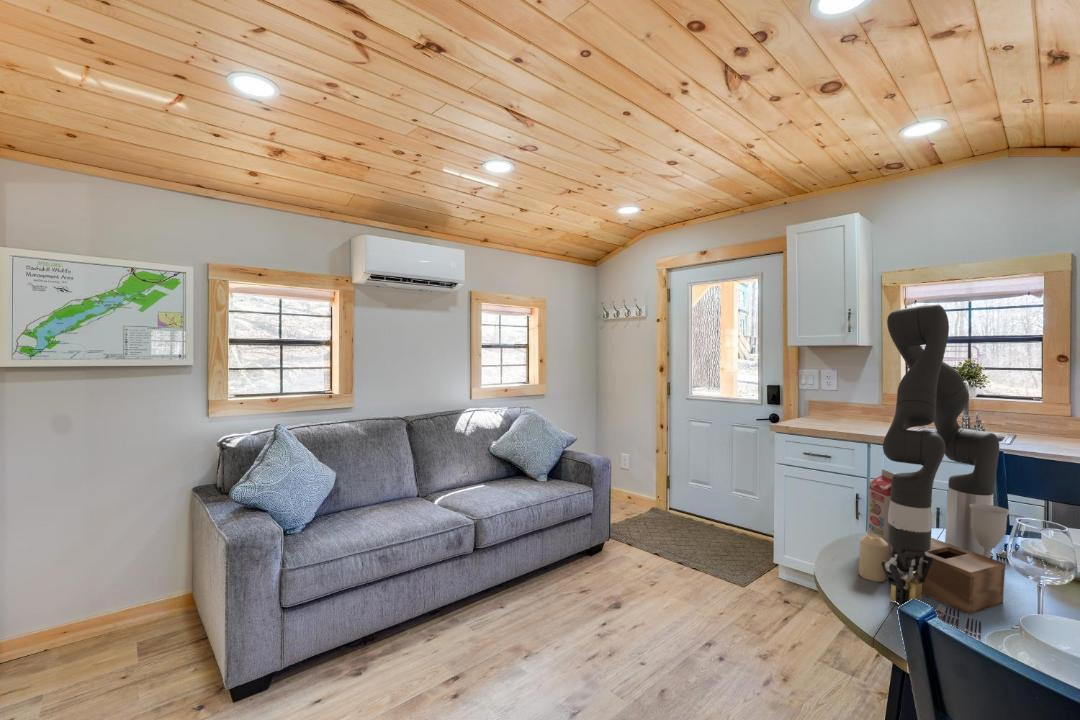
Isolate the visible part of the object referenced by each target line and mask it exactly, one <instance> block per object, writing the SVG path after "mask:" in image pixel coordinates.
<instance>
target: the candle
mask: <svg viewBox="0 0 1080 720" xmlns="http://www.w3.org/2000/svg"><path fill="white" fill-rule="evenodd" d="M859 542H860V544H859V546H860V547H859V559H858V560H859V561H858V564H859V565H858V575H860V577H861V578H863V579H866V580H868V581H872V582H877V583H878V582H885V581H887V578H886V575H885V573H884V570H883V568H882V565H881V563H882V561H886V562H888V561H887V553H888V544H887V542H886V541H884V540H883V539H882V538H881V537H879V536H877V535H876V534H867V533H866V535H864V536H862V537H861V538H860V541H859Z"/></svg>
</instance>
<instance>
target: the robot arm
mask: <svg viewBox="0 0 1080 720" xmlns="http://www.w3.org/2000/svg"><path fill="white" fill-rule="evenodd" d="M886 321H887V322H886V324H887V325H886V326H887V329H888V333H889V336H890V338H891V340H892V342H893V343H894V346H895V347H896V350H897V351H898V353H899V354H900V355H901V358H902V359H903V360H904V362H905V363H906V365H907V367H908V370H907V371H906V373H905V374H904V375H903V377H902V379H900V382H899V383H898V384H899V385H898V387H897V393H896V404H895V413H894V417H893V419H892V422H891V425H890V426H889V428H888V431H887V432H886V434H885V437H884V439H883V442H882V451H883V453H884V455H885V457H886V458H887V459H888V460H890V461H891V462H896V463H903V464H911V465H916V466H917V465H918V466H919V465H920V466H922V468H920V469H919V470H917V471H914V472H898V473H894V474H895V475H894V476H893V477H892V483H891V501H890V506H889V514H888V533H887V540H888V542H889V543H890V544H891V545H892V547H893V549H892V552H891V559H890V560H889V561H887V562H886V561H882V563H881V565H882V568H883V570H884V573H885V575H886V581H887V583H888V584H890V585H891V584H892V585H894V586H896V595H895V599H896V602H898V603H899V604H900V605H902V604H904V603H905V602H907V601H908V588H909V580H910V579H913V580H916V581H918V582H921V583H924V581H925V579H926V576H927V574H928V571H929V569H930V566H931V564H932V561H933V557H931V556H928V555H926V554H925V552H926V551H929V550H930V548H931V538H932V528H933V527H932V525H933V513H932V502H933V501H932V500H933V499H932V497H933V488H934V487H933V486H934V480H935V478H936V474H937V473H938V470H939V467H940V466H941V463H942V461H943V459H944V457H945V456H946V457H947V459H948V460H950V461H953V462H956V463H960V464H966V465H970V466H973V467H974V468H973V471H972V472H970V473H966V474H964V473H963V474H954V475H951V476H950V477H949V479H948V485H947V486H948V487H947V489H948V490H947V504H946V505H947V507H946V521H945V536H944V537H945V538H944V542H945V543H948V544H951V545H954V546H956V547H959V548H962V549H965V550H968V551H971V552H974V553H977V554H979V555H982V554H983V553H984V547H982V546H981V545H979V543H978V541H977V539H976V537H975V535H974V533H973V530H972V527H971V516H972V509H971V508H970V506H969V505H970V504H987V505H993V506H994V491H995V485H996V480H997V470H998V464H999V463H998V462H999V455H1000V440H999V438H998V436H997V434H995V433H993V432H991V431H990V432H989V431H984V430H977V429H971V428H963V427H962V426H960V425H959V423H958V420H957V419H958V418H959V416H960V415H961V414H962V413H963V412H964V410H965V408H966V407H967V405H968V403H969V398H970V395H969V391H968V388H967V386H966V384H965V382H964V379H963V376H962V375H961V374H960V373H959V371H957V369H955V368H954V367H952V365H950V364H948V363H946V362H945V361H944V357H945V353H946V352H945V351H946V348H947V343H948V338H949V333H950V322H949V316H948V315H947V312H946V310H945V308H944V307H943V306H942V305H941V304H938V303H930V304H925V305H922V304H921V305H919V306H913V307H906V308H902V309H897V310H893V311H891V312H890V313H889V314H888V316H887V318H886ZM922 346H924V348H923V347H922ZM932 423H933V424H934V426H935V430H936V432H937V433H936V432H931V431H925V430H923V431H922V430H913V429H910V428H916V427H924V426H929V425H932ZM991 550H992V548H990V551H989V552H990V553H991ZM922 564H923V565H922ZM901 571H902V572H901ZM901 577H902V578H903V579H904V580H903V582H902V580H901Z"/></svg>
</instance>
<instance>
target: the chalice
mask: <svg viewBox="0 0 1080 720" xmlns="http://www.w3.org/2000/svg"><path fill="white" fill-rule="evenodd" d="M969 506H970V508H971V509H972V516H971V527H972V530H973V533H974V535H975V537H976V539H977V541H978V543H979V545H981V546H982V547H984V553H983V554H982V556H985V557H988V558H991V559H992V556H991V552H989V551H990V548H991V549H995V548H996V547H997V546H998V545H999V544H1000V543H1001V542H1002V539H1003V538H1004V537H1005V534H1006V533H1007V525H1008V524H1007V522H1008V516H1009V514H1010V513H1011V510H1010V509H1007V508H1005V507H1001V506H997V505H994V504H993V505H987V504H970V505H969Z"/></svg>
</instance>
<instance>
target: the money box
mask: <svg viewBox="0 0 1080 720" xmlns="http://www.w3.org/2000/svg"><path fill="white" fill-rule="evenodd" d="M925 554H926V555H928V556H931V557H933V561H932V564H931V566H930V569H929V571H928V574H927V576H926V579H925V581H924V583H922V594H921V595H923V596H925V597H928V598H930V599H933V600H934V601H937V602H939V603H942V604H944V605H945V606H948V607H951V608H953V609H955V610H958V611H960V612H962V613H963V614H966V615H971V614H975V613H978V612H981V611H985V610H987V609H991V608H994V607H998V606H1001V605H1003V604H1004V590H1005V577H1006V576H1005V574H1006V572H1005V571H1006V563H1005V562H1002V561H1000V560H996V559H994V558H992V557H991V558H988V557H985V556H982V555H979V554H977V553H974V552H971V551H968V550H965V549H962V548H959V547H956V546H954V545H951V544H948V543H945V541H941V540H940V539H936V538H933V537H931V548H930V550H929V551H926V552H925ZM922 565H923V564H922ZM901 572H902V571H901Z"/></svg>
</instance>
